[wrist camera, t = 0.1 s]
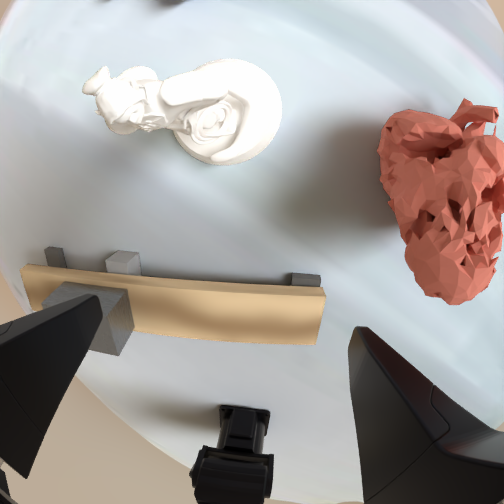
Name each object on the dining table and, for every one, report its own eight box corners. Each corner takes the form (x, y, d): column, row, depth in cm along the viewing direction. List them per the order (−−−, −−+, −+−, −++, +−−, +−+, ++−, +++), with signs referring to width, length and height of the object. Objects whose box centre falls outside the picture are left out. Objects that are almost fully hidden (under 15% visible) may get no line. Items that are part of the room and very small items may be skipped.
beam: (312, 333, 25) (315, 344, 23) (39, 303, 25) (32, 309, 23) (322, 287, 23) (326, 296, 21) (27, 263, 23) (19, 269, 21)
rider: (134, 327, 23) (118, 356, 19) (74, 316, 23) (54, 340, 19) (127, 289, 22) (107, 316, 18) (64, 281, 22) (41, 303, 18)
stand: (308, 334, 26) (310, 350, 24) (61, 295, 29) (49, 304, 26) (320, 270, 23) (324, 283, 21) (48, 242, 26) (35, 250, 24)
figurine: (152, 136, 21) (0, 153, 7) (203, 43, 17) (98, -53, 3) (245, 185, 21) (176, 271, 8) (303, 90, 18) (340, -5, 4)
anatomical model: (421, 291, 9) (561, 70, 4) (307, 174, 19) (423, 46, 14) (463, 343, 13) (573, 186, 8) (377, 240, 23) (469, 130, 18)
